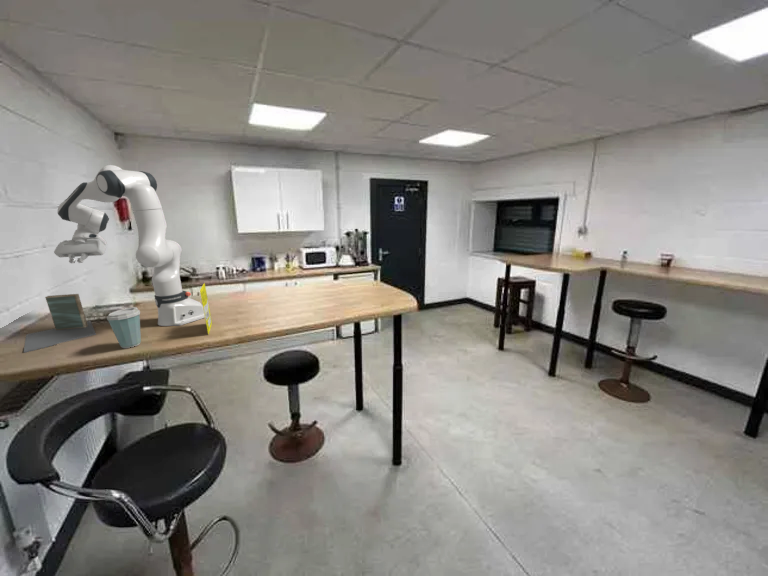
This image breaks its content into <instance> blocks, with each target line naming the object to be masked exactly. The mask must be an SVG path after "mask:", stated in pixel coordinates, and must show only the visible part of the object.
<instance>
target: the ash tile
mask: <svg viewBox="0 0 768 576" xmlns="http://www.w3.org/2000/svg"><path fill="white" fill-rule="evenodd" d="M44 299H45V301H46V304H47V307H48V310H49V313H50V316H51V319H52V322H53V325H54V328H55V329H56V330H62V329H74V328H85V327H87V326H88V324H87V321H88V320H87V318H86V314H85V311H84V308H83V305H82V301H81V298H80V294H79V293H73V294H72V293H70V294H58V295H56V294H55V295H47V296H45V297H44Z"/></svg>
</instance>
